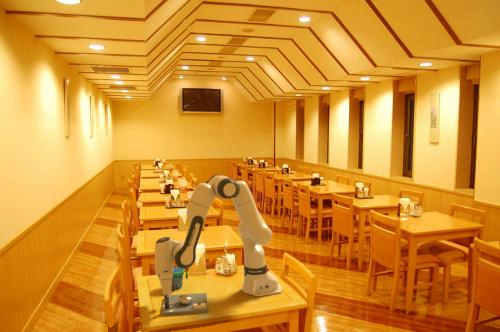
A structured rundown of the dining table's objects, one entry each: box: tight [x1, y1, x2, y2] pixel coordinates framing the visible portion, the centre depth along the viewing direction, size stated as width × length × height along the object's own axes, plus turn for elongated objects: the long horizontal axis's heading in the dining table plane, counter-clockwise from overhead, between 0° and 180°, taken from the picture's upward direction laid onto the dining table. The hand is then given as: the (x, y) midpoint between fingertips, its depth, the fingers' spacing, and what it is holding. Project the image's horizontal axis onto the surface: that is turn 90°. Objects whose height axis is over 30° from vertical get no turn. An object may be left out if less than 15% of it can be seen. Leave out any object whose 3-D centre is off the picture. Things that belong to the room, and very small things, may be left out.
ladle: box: [163, 293, 192, 309], centre depth 203 cm, size 15×7×6 cm, turn 129°
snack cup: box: [171, 266, 189, 290], centre depth 229 cm, size 16×10×10 cm
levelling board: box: [161, 292, 209, 317], centre depth 207 cm, size 23×20×4 cm
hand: (165, 296), depth 205 cm, fingers closed
